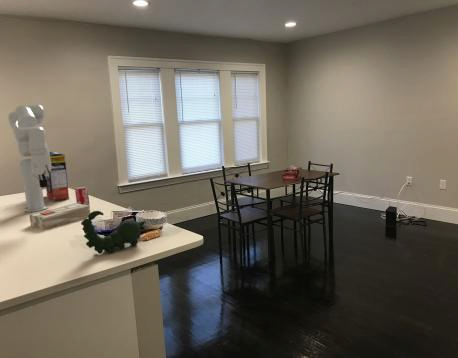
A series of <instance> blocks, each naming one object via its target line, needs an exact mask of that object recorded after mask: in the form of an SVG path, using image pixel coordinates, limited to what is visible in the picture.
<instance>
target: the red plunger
mask: <svg viewBox="0 0 458 358" xmlns="http://www.w3.org/2000/svg"><path fill="white" fill-rule="evenodd" d="M48 210H49V211H46V210H45V211H46V212H42V211H41V212H42V213H40V214H41V215H48V214H52V213H55V211H50V209H48Z"/></svg>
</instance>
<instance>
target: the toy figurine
mask: <svg viewBox="0 0 458 358" xmlns="http://www.w3.org/2000/svg"><path fill="white" fill-rule="evenodd" d="M99 215H100V216H104V215H105V214H104V213H103V212H102V211H100V210H93V211H90V214H89V216H88V217H87V218H83V221H81V225H82V226H83V227H82V231H83V232H84V233H85V234H84V235H83V238H85V239H86V240H88V241H87V242H86V243H85V245H86V246H87V247H88V248H90V249H92V248H94V251H95V252H97V253H98V254H99V255H101V254H103V251H105V252H108V253H109V254H113V253H114V252H115V249H116V248H118V249H119V250H124V249H125V247H126V245H125V244H130V246H136V245H138V244H139V241H138V239H140V237H141V228H142V227H143V226H144V225H145V223H146V220H143V221H135V220H132V219H126V220H123V221H122V222H121V223H119V225H118V226H117V228H116V230H113V231H112V232H111V233H109V235H106V236H103V237H101V236H100V235H99V234H98V232H97V231H96V230H95V226H94V225H93V220H94V219H95V218H96V217H97V216H99Z"/></svg>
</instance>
